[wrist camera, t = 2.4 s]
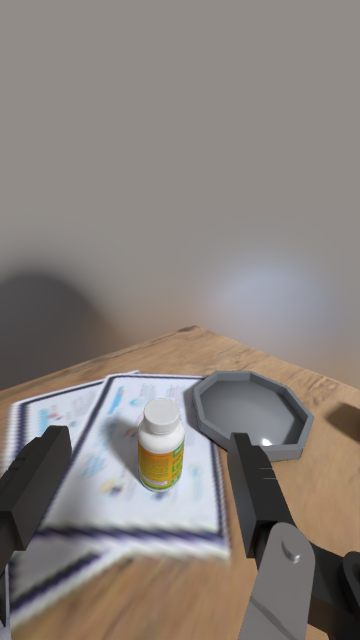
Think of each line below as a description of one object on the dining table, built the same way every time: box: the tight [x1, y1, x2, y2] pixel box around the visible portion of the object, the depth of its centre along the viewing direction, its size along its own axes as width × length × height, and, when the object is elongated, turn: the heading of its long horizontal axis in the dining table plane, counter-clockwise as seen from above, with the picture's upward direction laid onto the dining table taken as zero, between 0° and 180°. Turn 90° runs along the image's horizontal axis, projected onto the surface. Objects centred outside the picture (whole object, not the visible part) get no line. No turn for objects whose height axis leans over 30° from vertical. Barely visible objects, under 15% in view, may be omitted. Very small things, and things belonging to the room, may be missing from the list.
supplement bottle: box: [138, 398, 185, 492], centre depth 26 cm, size 5×5×10 cm
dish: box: [193, 371, 314, 462], centre depth 38 cm, size 18×18×2 cm
